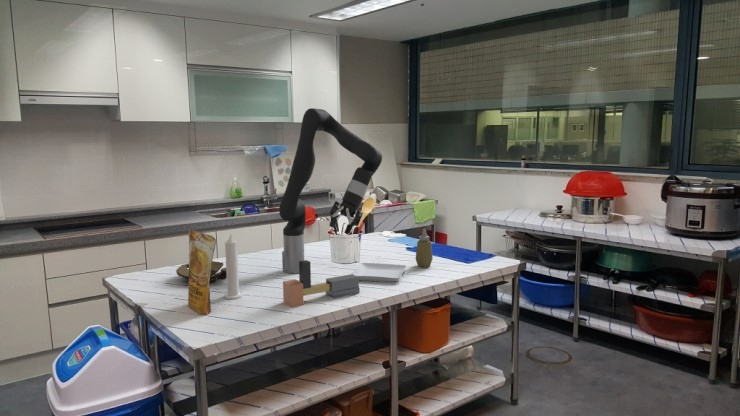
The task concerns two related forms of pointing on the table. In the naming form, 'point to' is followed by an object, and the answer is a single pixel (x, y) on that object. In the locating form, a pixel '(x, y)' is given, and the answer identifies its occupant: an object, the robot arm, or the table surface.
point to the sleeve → (343, 286)
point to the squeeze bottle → (424, 250)
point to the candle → (232, 269)
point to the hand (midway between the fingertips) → (338, 230)
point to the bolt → (306, 280)
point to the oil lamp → (215, 268)
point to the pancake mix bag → (200, 270)
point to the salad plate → (379, 272)
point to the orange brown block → (293, 293)
